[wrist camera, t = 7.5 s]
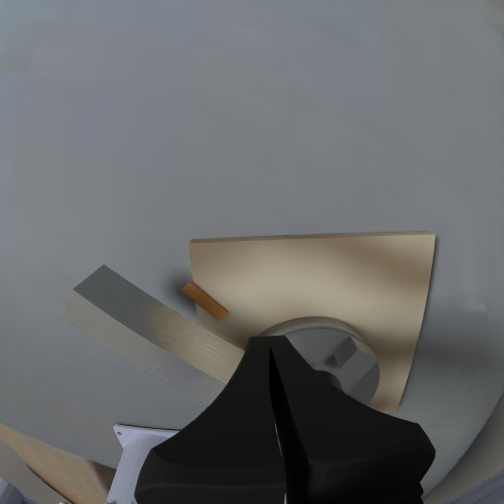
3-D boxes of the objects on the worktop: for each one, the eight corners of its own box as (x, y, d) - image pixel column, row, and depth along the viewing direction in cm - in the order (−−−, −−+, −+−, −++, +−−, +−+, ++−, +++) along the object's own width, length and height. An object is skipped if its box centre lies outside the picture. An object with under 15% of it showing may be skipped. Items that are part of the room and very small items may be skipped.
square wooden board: (392, 403, 23) (397, 412, 22) (207, 423, 23) (206, 433, 22) (427, 231, 19) (437, 235, 17) (180, 240, 18) (176, 245, 17)
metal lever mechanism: (395, 353, 20) (429, 402, 14) (310, 434, 22) (322, 487, 17) (149, 195, 16) (107, 211, 11) (87, 320, 19) (47, 366, 13)
